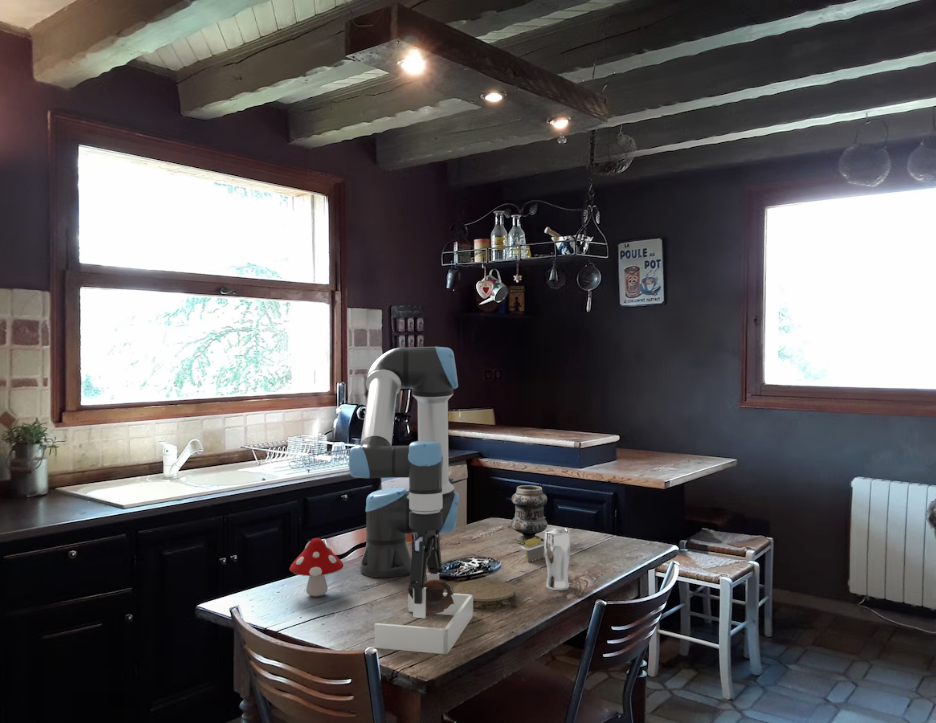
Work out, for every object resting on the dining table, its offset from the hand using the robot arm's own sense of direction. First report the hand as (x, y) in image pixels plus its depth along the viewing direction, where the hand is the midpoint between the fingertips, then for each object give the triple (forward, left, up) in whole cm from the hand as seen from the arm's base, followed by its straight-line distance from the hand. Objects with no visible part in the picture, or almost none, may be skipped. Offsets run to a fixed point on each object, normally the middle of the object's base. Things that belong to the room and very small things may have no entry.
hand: (426, 609), depth 168 cm
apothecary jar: (-85, +10, -5) cm, 86 cm away
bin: (0, 0, -5) cm, 5 cm away
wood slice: (-24, +8, -5) cm, 26 cm away
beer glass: (-38, +25, -5) cm, 46 cm away
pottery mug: (-1, +1, -1) cm, 1 cm away
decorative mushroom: (-18, -35, -5) cm, 40 cm away
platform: (-63, +15, -6) cm, 65 cm away
